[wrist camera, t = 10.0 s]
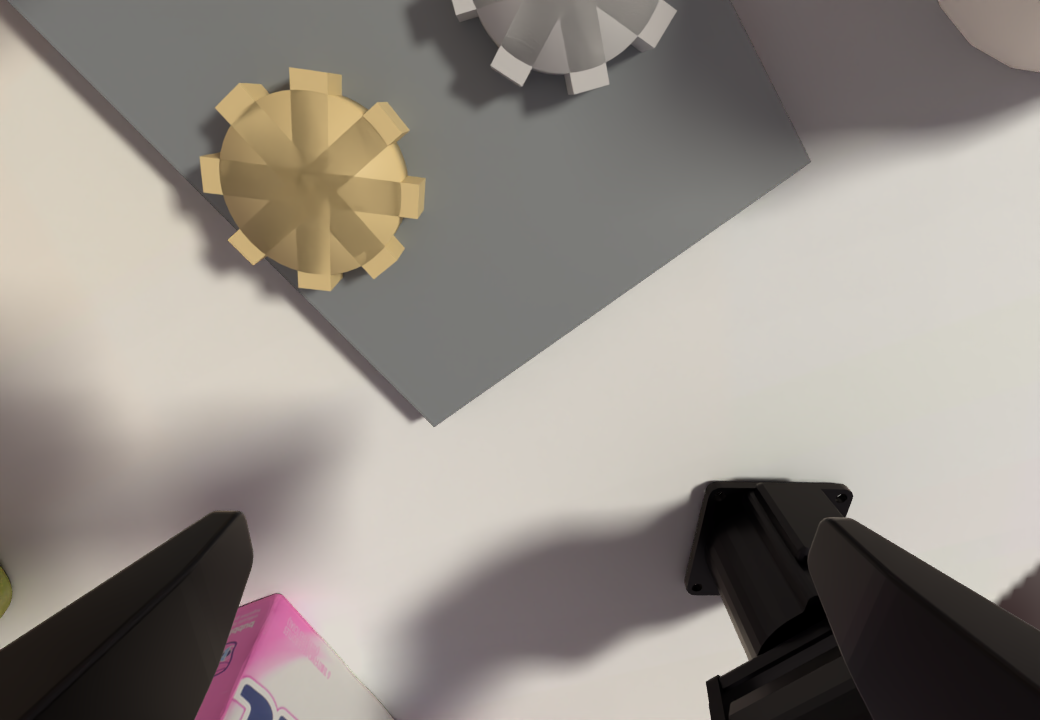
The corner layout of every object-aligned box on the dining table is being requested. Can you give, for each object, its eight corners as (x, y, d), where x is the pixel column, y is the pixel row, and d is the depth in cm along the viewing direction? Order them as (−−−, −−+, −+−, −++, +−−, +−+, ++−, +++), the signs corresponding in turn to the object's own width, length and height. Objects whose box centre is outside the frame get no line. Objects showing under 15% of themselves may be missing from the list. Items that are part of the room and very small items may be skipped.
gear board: (793, 158, 19) (837, 167, 16) (437, 411, 23) (429, 449, 20) (281, -838, 11) (215, -1115, 8) (-141, -176, 14) (-270, -232, 12)
